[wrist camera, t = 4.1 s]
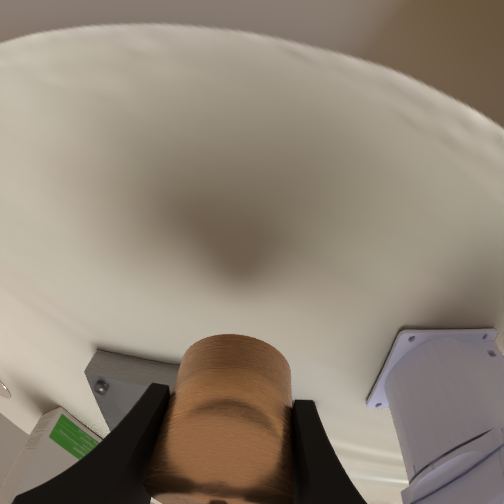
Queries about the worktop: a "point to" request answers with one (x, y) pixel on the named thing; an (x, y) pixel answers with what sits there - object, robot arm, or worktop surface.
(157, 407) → the robot arm
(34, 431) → the skincare box
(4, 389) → the wineglass
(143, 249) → the worktop surface
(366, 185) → the worktop surface
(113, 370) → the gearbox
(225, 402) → the copper spout can
